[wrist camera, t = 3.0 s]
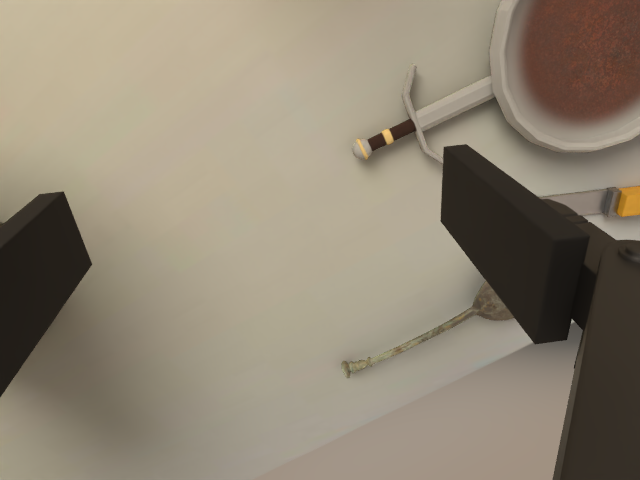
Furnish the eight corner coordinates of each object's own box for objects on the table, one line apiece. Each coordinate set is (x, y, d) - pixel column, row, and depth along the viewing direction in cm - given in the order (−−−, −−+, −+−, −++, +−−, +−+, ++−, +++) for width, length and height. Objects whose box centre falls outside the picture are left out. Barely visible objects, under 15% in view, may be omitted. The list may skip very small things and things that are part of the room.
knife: (502, 224, 40) (510, 232, 39) (505, 199, 39) (514, 207, 37) (694, 201, 41) (709, 208, 39) (702, 176, 39) (718, 182, 38)
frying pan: (305, 47, 29) (749, -185, 25) (303, 43, 32) (707, -168, 28) (395, 247, 37) (746, 95, 33) (388, 231, 40) (713, 88, 36)
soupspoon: (549, 283, 44) (528, 232, 42) (570, 301, 41) (548, 247, 39) (357, 384, 47) (325, 342, 45) (363, 408, 44) (329, 365, 42)
